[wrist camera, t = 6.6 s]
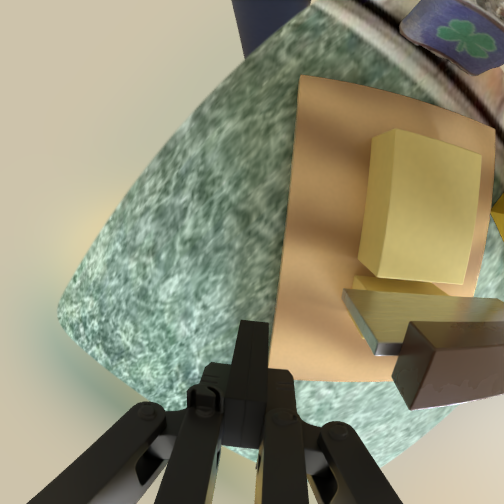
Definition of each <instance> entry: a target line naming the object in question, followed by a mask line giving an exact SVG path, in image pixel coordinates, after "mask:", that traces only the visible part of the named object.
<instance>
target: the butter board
mask: <svg viewBox="0 0 504 504" xmlns="http://www.w3.org/2000/svg"><path fill="white" fill-rule="evenodd" d="M395 128H397V129H401V130H405V131H409V132H413V133H416V134H420V135H423V136H427V137H430V138H434V139H437V140H440V141H444V142H447V143H450V144H453V145H456V146H459V147H462V148H465V149H468V150H470V151H473V152H476V153H479V154H481V155H482V158H481V176H480V188H479V198H478V206H477V214H476V221H475V228H474V234H473V240H472V245H471V250H470V255H469V260H468V265H467V269H466V274H465V278H464V282H463V284H462V285H461V284H448V283H437V282H431V283H433V284H434V285H435V286H437V287H438V288H440V289H441V290H443V291H444V292H445V293H447V294H448V295H450V296H458V297H473V296H474V292H475V288H476V284H477V280H478V276H479V272H480V268H481V263H482V259H483V254H484V249H485V244H486V238H487V232H488V226H489V219H490V212H491V204H492V194H493V183H494V167H495V129H493V128H491V127H489V126H487V125H484V124H482V123H480V122H477V121H475V120H473V119H470V118H468V117H465V116H463V115H460V114H458V113H455V112H452V111H449V110H447V109H444V108H441V107H438V106H435V105H432V104H429V103H426V102H423V101H420V100H417V99H413V98H410V97H407V96H403V95H400V94H396V93H392V92H388V91H384V90H380V89H376V88H372V87H368V86H363V85H359V84H354V83H349V82H344V81H338V80H333V79H327V78H321V77H314V76H307V75H300V79H299V84H298V97H297V109H296V121H295V133H294V144H293V154H292V165H291V175H290V185H289V195H288V204H287V213H286V222H285V231H284V240H283V248H282V257H281V265H280V273H279V281H278V289H277V297H276V304H275V312H274V319H273V327H272V334H271V341H270V348H269V355H268V368H275V369H287V370H289V371H290V373H291V374H292V375H293V379H294V380H306V381H332V382H382V381H393V379H392V377H391V375H392V372H393V370H394V367H395V364H396V361H397V358H398V356H374V354H373V353H372V351H371V349H370V347H369V345H368V344H367V342H366V340H365V339H362V337H361V335H360V334H359V332H358V330H357V328H356V326H355V325H354V323H353V321H352V319H351V317H350V316H349V314H348V312H347V310H348V309H347V307H346V305H345V303H344V302H343V300H342V298H341V297H342V292H343V288H347V289H352V285H353V280H354V276H355V275H358V276H369V277H376V276H375V275H374V274H373V273H372V272H371V271H370V270H369V269H368V268H367V267H366V266H365V265H363V264H362V263H361V262H360V261H359V260H358V252H359V246H360V240H361V233H362V226H363V219H364V212H365V204H366V196H367V187H368V177H369V167H370V156H371V142H372V138H373V137H375V136H378V135H380V134H383V133H385V132H388V131H390V130H393V129H395ZM413 281H414V280H413ZM424 282H425V281H424Z"/></svg>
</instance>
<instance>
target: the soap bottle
mask: <svg viewBox="0 0 504 504" xmlns="http://www.w3.org/2000/svg"><path fill="white" fill-rule="evenodd" d="M490 214H491V216H492V218H493V220H494V222H495V224H496V226H497V228H498V230H499V232H500V235H501V237H502V239H503V241H504V193H503V194H502V195H501V197H500V198H499V199H498V201H497V202H496V203H495V204H494V206H493V207H492V208H491V212H490Z"/></svg>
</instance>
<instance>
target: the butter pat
mask: <svg viewBox="0 0 504 504" xmlns="http://www.w3.org/2000/svg"><path fill="white" fill-rule="evenodd" d="M352 289H358V290H371V291H383V292H397V293H411V294H425V295H441V296H450V295H448V294H447V293H445V292H444V291H443V290H441V289H440V288H438V287H437V286H435V285H434V284H433V283H431V282H424V281H413V280H402V279H391V278H380V277H369V276H358V275H355V276H354V280H353V285H352ZM347 312H348V314H349V316H350V317H351V319H352V321H353V323H354V325H355V326H356V328H357V330H358V332H359V334H360V335H361V337H362V339H365V338H364V336H363V335H362V333H361V331H360V329H359V328H358V326H357V324H356V322H355V321H354V319H353V317H352V315H351V314H350V312H349V310H347Z"/></svg>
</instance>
